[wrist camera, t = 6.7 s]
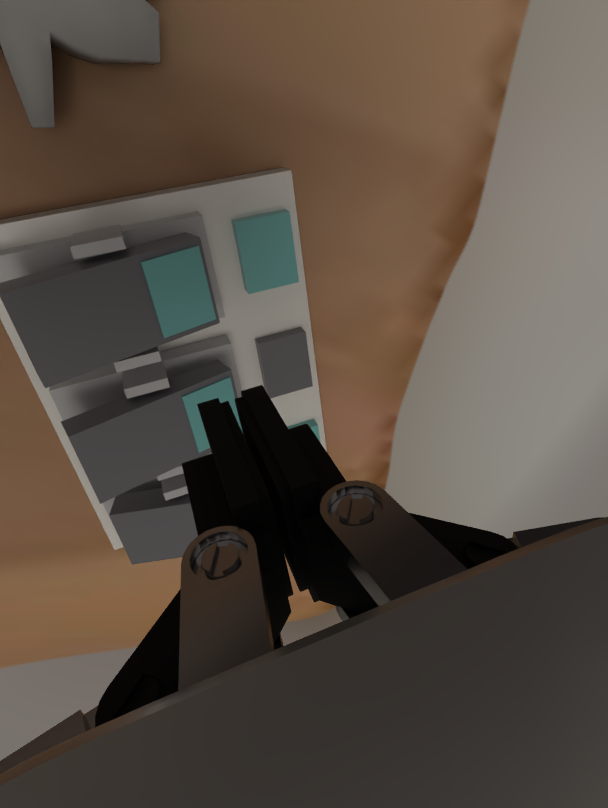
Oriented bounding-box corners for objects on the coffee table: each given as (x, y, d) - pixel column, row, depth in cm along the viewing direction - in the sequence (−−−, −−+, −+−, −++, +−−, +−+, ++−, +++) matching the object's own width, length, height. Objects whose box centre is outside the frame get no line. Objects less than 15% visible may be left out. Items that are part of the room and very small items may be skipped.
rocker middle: (60, 421, 22) (68, 438, 21) (217, 359, 26) (232, 370, 24) (91, 486, 24) (101, 505, 23) (232, 421, 28) (247, 434, 27)
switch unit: (-35, 226, 22) (-69, 253, 18) (282, 167, 25) (320, 178, 21) (114, 533, 33) (115, 598, 28) (322, 464, 36) (352, 513, 32)
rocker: (116, 494, 28) (108, 517, 26) (256, 473, 28) (256, 495, 26) (137, 543, 30) (131, 566, 28) (268, 523, 30) (268, 545, 28)
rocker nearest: (-6, 284, 19) (0, 294, 17) (184, 232, 22) (201, 237, 21) (37, 374, 21) (45, 389, 20) (205, 314, 24) (221, 323, 23)
